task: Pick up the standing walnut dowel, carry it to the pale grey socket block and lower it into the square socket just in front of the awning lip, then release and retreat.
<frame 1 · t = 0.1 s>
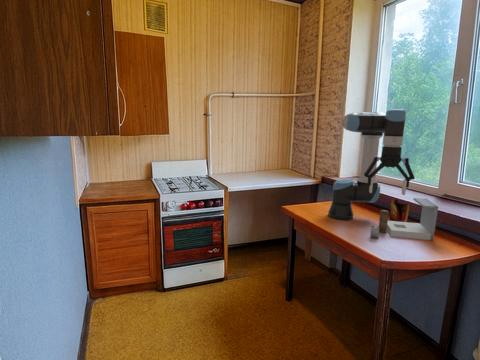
hand: (386, 193, 134), 28 cm above the table, fingers open, 13 cm apart
mug: (400, 221, 181), on the table
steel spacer: (374, 237, 156), on the table
socket block: (407, 232, 163), on the table
walnut dowel: (382, 231, 164), on the table
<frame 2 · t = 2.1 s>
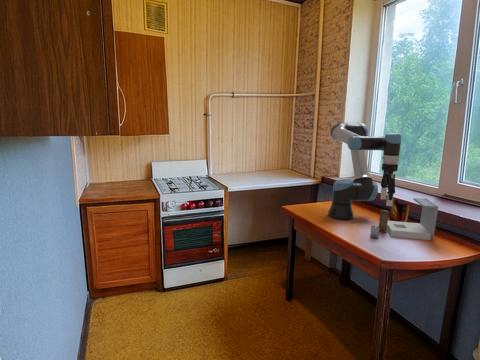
hand: (385, 202, 160), 17 cm above the table, fingers open, 13 cm apart
nothing on the table moved.
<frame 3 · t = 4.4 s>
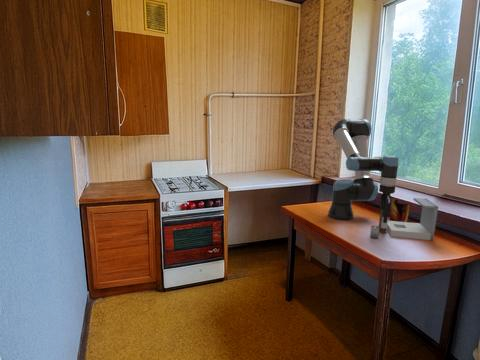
hand: (382, 226, 163), 3 cm above the table, fingers closed on walnut dowel, 4 cm apart
walnut dowel: (382, 231, 164), on the table, touching gripper
everything else where it was.
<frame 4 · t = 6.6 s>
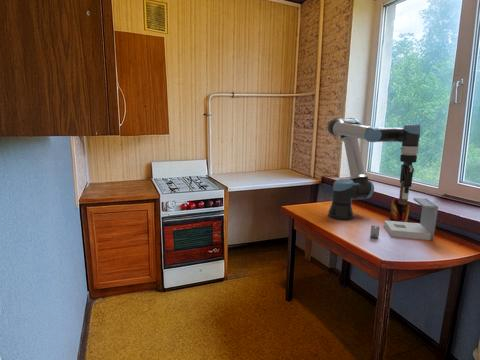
hand: (403, 197, 160), 20 cm above the table, fingers closed on walnut dowel, 4 cm apart
walnut dowel: (402, 203, 160), point 16 cm above the table, touching gripper
everything else where it was.
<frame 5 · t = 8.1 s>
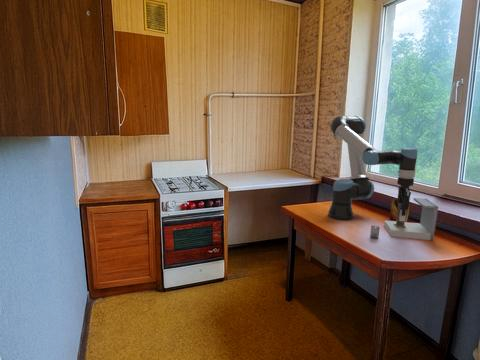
hand: (400, 219, 162), 7 cm above the table, fingers closed on walnut dowel, 4 cm apart
walnut dowel: (400, 225, 163), point 4 cm above the table, touching gripper
everything else where it was.
when the fingers open (5 cm above the table, at t = 9.2 s): walnut dowel drops 1 cm, on the table.
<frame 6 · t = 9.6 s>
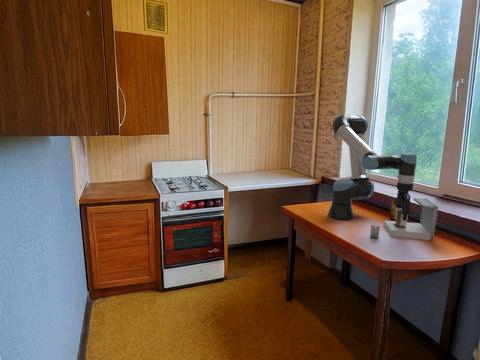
hand: (400, 222, 163), 6 cm above the table, fingers open, 10 cm apart
walnut dowel: (399, 232, 164), on the table
everything else where it was.
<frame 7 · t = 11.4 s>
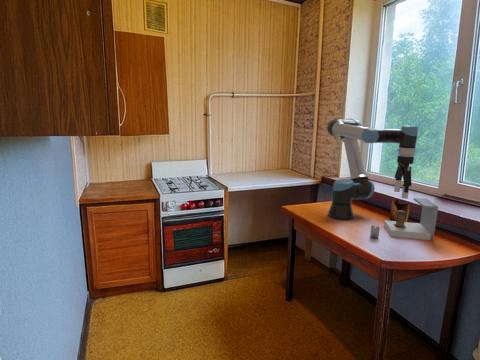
hand: (400, 194, 160), 21 cm above the table, fingers open, 13 cm apart
nothing on the table moved.
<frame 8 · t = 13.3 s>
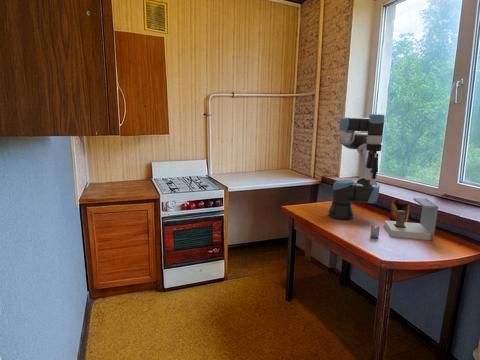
hand: (370, 182, 164), 27 cm above the table, fingers open, 13 cm apart
nothing on the table moved.
at the end: walnut dowel 0.0 cm from the target spot on the socket block, point 0.0 cm above the socket block's base; walnut dowel tilted 0°; the gripper is holding nothing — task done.
